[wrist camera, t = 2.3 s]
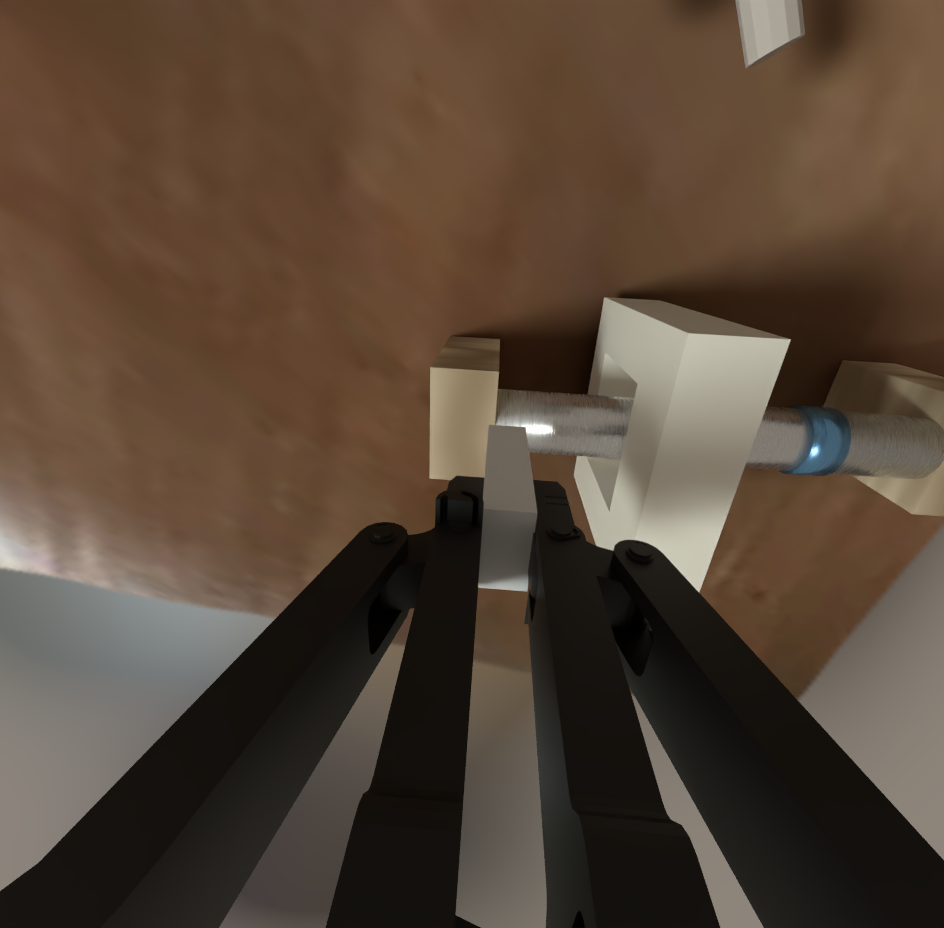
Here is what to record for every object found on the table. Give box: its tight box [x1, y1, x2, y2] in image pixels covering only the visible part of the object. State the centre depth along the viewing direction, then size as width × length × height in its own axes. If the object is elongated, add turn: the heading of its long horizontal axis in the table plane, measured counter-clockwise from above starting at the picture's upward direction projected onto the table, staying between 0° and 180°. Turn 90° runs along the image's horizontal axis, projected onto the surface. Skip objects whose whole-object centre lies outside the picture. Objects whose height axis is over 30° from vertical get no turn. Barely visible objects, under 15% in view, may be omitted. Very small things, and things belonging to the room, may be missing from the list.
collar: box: [574, 297, 791, 592], centre depth 21 cm, size 3×11×12 cm, turn 177°
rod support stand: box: [430, 336, 944, 516], centre depth 23 cm, size 26×6×8 cm, turn 87°
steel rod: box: [495, 389, 944, 480], centre depth 21 cm, size 25×3×3 cm, turn 87°
